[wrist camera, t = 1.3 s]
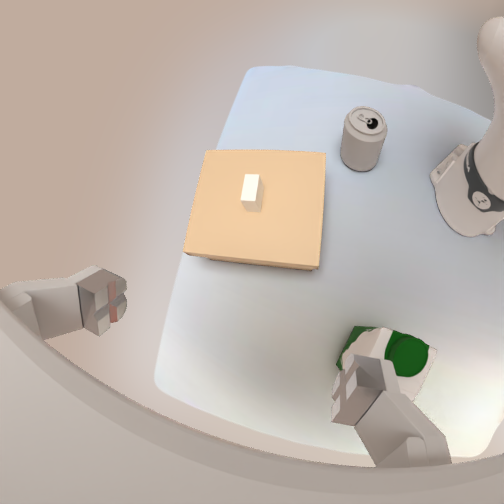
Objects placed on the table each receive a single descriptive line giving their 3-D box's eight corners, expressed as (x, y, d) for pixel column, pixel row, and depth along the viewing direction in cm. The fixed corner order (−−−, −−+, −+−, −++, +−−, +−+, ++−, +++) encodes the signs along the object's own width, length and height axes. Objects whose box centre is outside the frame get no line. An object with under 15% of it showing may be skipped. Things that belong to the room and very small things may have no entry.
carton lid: (211, 157, 46) (198, 137, 40) (325, 161, 41) (326, 137, 35) (189, 255, 42) (170, 244, 36) (318, 269, 38) (319, 259, 32)
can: (368, 180, 46) (381, 143, 35) (333, 162, 49) (337, 122, 37) (381, 153, 47) (394, 115, 36) (349, 136, 49) (354, 96, 38)
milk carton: (395, 337, 39) (452, 348, 20) (372, 386, 38) (412, 428, 19) (351, 318, 42) (385, 319, 23) (327, 368, 40) (342, 404, 21)
